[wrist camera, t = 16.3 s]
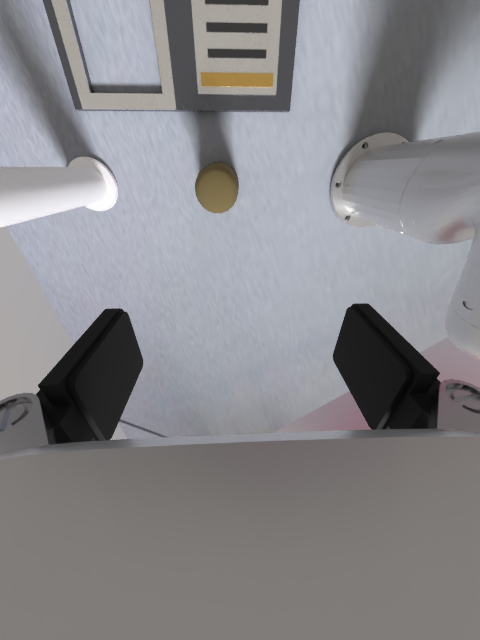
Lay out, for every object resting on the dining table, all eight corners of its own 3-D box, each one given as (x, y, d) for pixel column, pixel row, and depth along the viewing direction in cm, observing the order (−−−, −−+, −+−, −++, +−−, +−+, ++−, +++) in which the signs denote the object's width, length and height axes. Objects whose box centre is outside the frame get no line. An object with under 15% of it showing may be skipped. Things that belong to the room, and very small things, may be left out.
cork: (241, 202, 37) (245, 214, 28) (205, 209, 37) (197, 223, 28) (235, 157, 34) (237, 153, 24) (195, 166, 34) (182, 165, 25)
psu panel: (301, -39, 24) (304, -47, 23) (288, 112, 31) (290, 110, 30) (32, -46, 23) (24, -55, 22) (78, 110, 30) (74, 108, 29)
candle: (83, 213, 37) (-105, 271, 16) (59, 160, 33) (-232, 147, 12) (125, 207, 37) (-10, 258, 16) (106, 153, 33) (-108, 126, 12)
